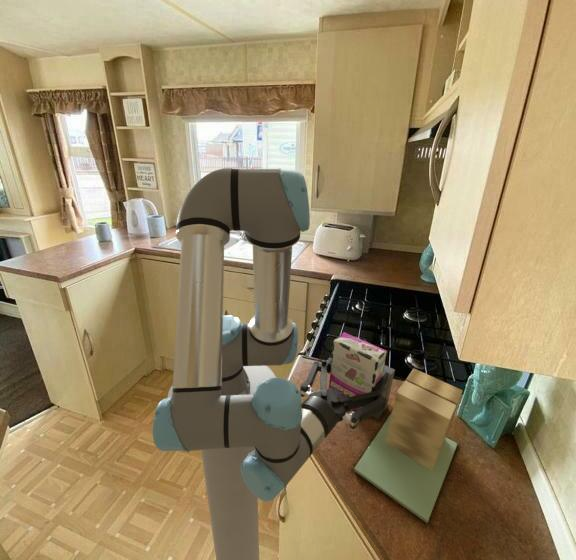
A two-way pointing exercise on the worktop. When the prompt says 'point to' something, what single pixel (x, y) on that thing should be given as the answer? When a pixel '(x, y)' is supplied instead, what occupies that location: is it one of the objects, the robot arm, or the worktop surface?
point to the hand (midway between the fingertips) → (363, 365)
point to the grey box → (388, 386)
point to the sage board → (405, 473)
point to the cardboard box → (422, 417)
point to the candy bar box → (355, 366)
